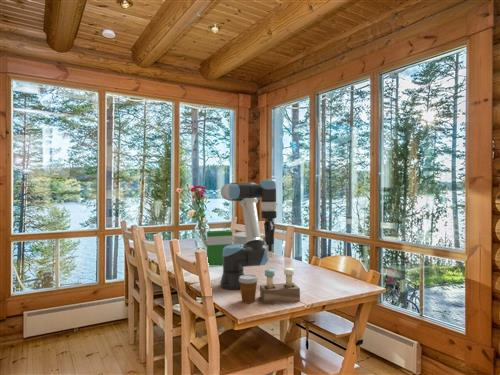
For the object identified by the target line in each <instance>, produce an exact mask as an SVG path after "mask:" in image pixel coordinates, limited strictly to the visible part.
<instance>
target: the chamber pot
mask: <svg viewBox="0 0 500 375" xmlns="http://www.w3.org/2000/svg"><path fill="white" fill-rule="evenodd" d="M260 234H261V239H262V240H263V241H264V239H263V237H265V232H264V233H263V232H261V231H260ZM232 237H234V238H233V239H232V244H243V246H245V243H246V242H247V237H246V229H245V230H244V231H243V230H242V231H237V232H232ZM264 243H265V245H266V242H265V241H264Z"/></svg>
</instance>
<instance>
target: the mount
mask: <svg viewBox="0 0 500 375" xmlns="http://www.w3.org/2000/svg"><path fill="white" fill-rule="evenodd" d="M259 297H260V300H262V302H263V303H264V304H272V303H273V304H274V303H283V302H284V303H287V302H298V301H301V288H300V287H299V286H298V285H297V284H296V283H294V282H292V287H291V288H287V287H286V282H285V283H273V289H267V284H259Z"/></svg>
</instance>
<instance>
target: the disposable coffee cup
mask: <svg viewBox="0 0 500 375" xmlns="http://www.w3.org/2000/svg"><path fill="white" fill-rule="evenodd" d="M258 280H259V279H258V277H257V275H255V274H244V275H242V276H240V277H239V282H240V294H241V295H240V296H241V301H242V303H245V304H252V303H254V302H256V301H255V300H256V292H257V282H258Z"/></svg>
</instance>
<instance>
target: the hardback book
mask: <svg viewBox="0 0 500 375" xmlns="http://www.w3.org/2000/svg"><path fill="white" fill-rule="evenodd" d="M232 234H233V231H231V230H228V229H227V230H225V229H224V230H207V231H206V258H207V257H208V263H209V265H219V266H223V248H224V247H225V246H227V245H231V244H233V236H232Z"/></svg>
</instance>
